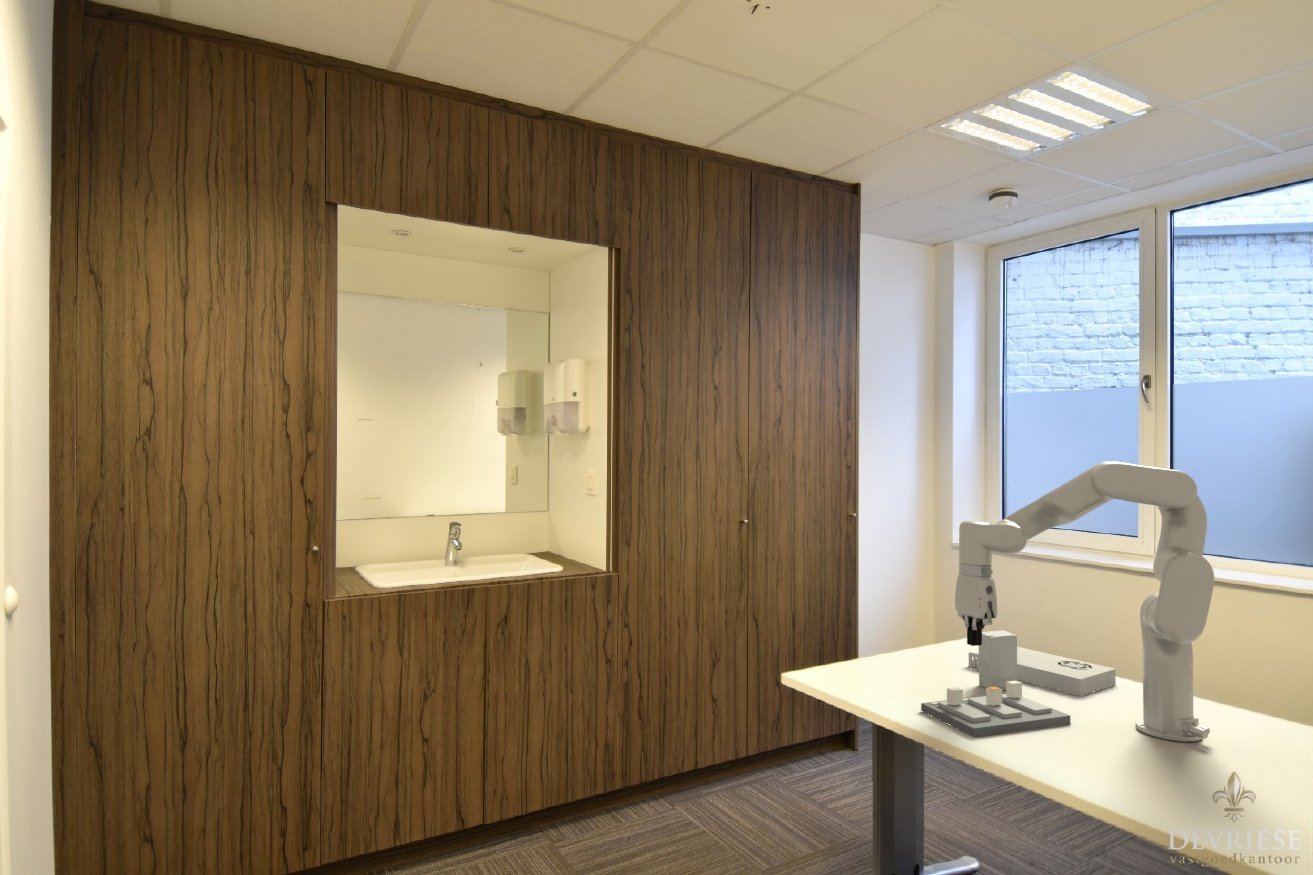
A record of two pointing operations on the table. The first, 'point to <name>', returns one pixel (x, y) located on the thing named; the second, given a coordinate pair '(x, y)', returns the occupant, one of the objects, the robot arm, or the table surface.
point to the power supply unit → (1058, 672)
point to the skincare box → (997, 659)
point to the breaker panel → (995, 715)
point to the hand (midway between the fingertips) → (974, 644)
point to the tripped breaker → (993, 696)
